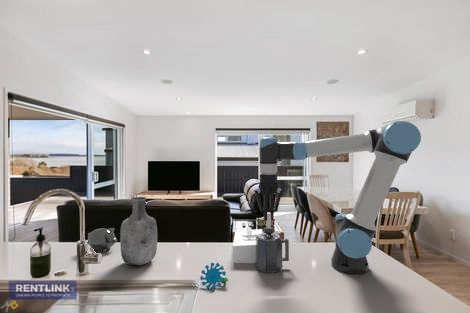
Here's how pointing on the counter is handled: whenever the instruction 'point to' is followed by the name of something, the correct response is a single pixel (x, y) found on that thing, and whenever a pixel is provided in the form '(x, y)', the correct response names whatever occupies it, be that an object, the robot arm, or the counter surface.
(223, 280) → the gear
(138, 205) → the vase
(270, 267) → the carafe
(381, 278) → the counter surface
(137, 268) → the counter surface
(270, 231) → the plunger
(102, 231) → the piggy bank
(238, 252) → the tissue box
